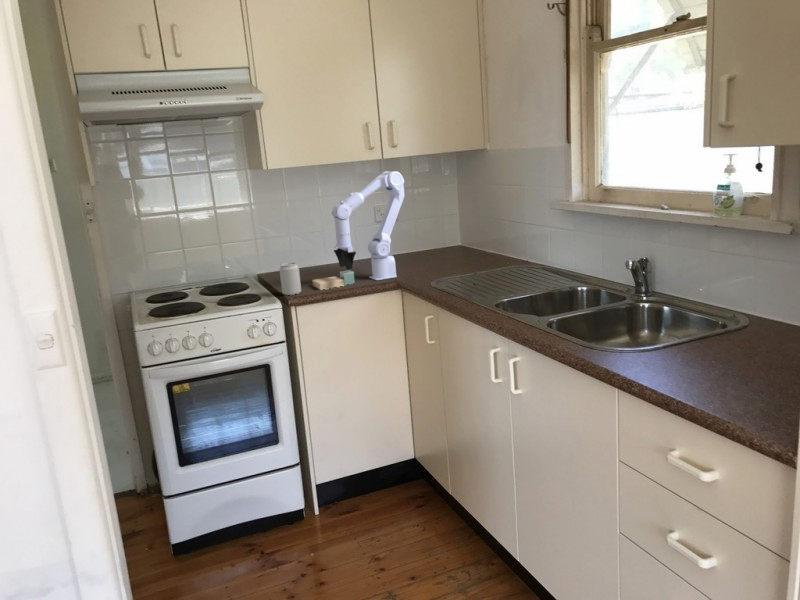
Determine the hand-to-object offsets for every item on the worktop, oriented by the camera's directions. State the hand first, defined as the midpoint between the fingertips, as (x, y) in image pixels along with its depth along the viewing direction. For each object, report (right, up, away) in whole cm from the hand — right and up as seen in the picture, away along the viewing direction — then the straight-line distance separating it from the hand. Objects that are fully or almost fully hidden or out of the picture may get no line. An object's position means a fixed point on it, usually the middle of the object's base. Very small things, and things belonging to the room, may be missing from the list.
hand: (346, 267), depth 268 cm
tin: (+1, -6, +2) cm, 7 cm away
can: (-20, -11, -10) cm, 25 cm away
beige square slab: (-7, -8, -1) cm, 11 cm away
